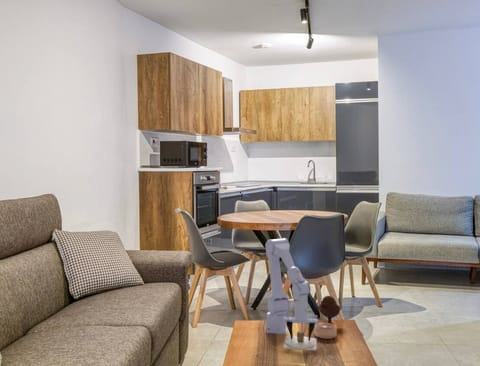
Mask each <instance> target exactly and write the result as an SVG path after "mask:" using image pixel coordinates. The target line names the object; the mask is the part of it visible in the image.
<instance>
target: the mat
mask: <svg viewBox="0 0 480 366" xmlns="http://www.w3.org/2000/svg"><path fill="white" fill-rule="evenodd" d="M289 337H290V336H288V335H287V336H285V338H284V344H283V349H289V350H290V349H292V350H299V349H298V348H293V347H290V346H288V345H287V344H286V339H287V338H289ZM311 338H312V339H313V340H315V346H313V347H311V348H306V349H302V350H306V351H307V350H308V351H317V338H318V337H311Z"/></svg>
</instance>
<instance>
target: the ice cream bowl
mask: <svg viewBox="0 0 480 366" xmlns="http://www.w3.org/2000/svg"><path fill="white" fill-rule="evenodd" d="M341 309H342V306H341V305H339V304H338V303H337V301H336V299H335V298H334V297H333V296H332V295H326V296H324V297H323V298H322V300H321V302H320V304H319V305H318V310H319V312H320V313H321V314H322V316H324V317H326V318H327V321H326V322H325V323H331V324H334V325H336V323H333V322H332V319H333V318H335V317H337V316H339V314H340V312H341Z"/></svg>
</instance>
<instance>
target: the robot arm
mask: <svg viewBox="0 0 480 366" xmlns="http://www.w3.org/2000/svg"><path fill="white" fill-rule="evenodd" d="M290 247H291V245H290V242H289V240H288V238H286V237H283V238H274V239H268V240H267V241H266V242H265V247H264V248H265V252H266V253H265V255H266V257H267V258H268V259H267V260H268V268H269V277H270V284H271V285H270V287H271V293H270V295H268V296H267V306H266V307H267V311H268V312H266V319H265V323H266V324H265V328H266V329H265V330H266V331H265V333H267V334H279V335H287V332H289V335H290V336H289V337H291V339H293V336H294V334H293V323H294V324H306V325H307V324H308V336H307V337H308V341H310V338H312V333H313V331H314V330H315V325H317V323H318V318H311V317H308V300H309V299H308V296H309V294H310V293H311V285H310V282H309V281H308V280H306V279H305V278H304V276H303V274H302V273H301V270H300V269H299V267H297V266H296V265H295V263H294V261H293V258H292V255H291V253H290V249H291V248H290ZM280 259H281V260H282V262H283V264H284V265H285V267H286V269H287V272H286V274H287V277H288V278H289V279H288V280H289V281H290V283H291V285H292V287H291V292H292V295H293V296H292V298H293V299H294V303H293V305H294V309H293V310H294V311H293V312H294V314H293V316H288V317H287V314H288V312H289V311H290V309H291V302H290V299H289V295H288V294H287V293H286V292H284V287H283V280H282V273H281V272H282V271H281V261H280Z"/></svg>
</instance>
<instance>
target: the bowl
mask: <svg viewBox="0 0 480 366" xmlns="http://www.w3.org/2000/svg"><path fill="white" fill-rule="evenodd" d="M334 324H335V323H334ZM334 324H331V323H326V322H317V325H315V327H314V336H315V337H316V338H319V339H325V340H328V339H329V340H330V339H331V340H332V339H334V338H336V337H337V335H338V333H337V332H338V331H337V330H338V329H337V328H338V326H337V325H336V324H335V325H334Z"/></svg>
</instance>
